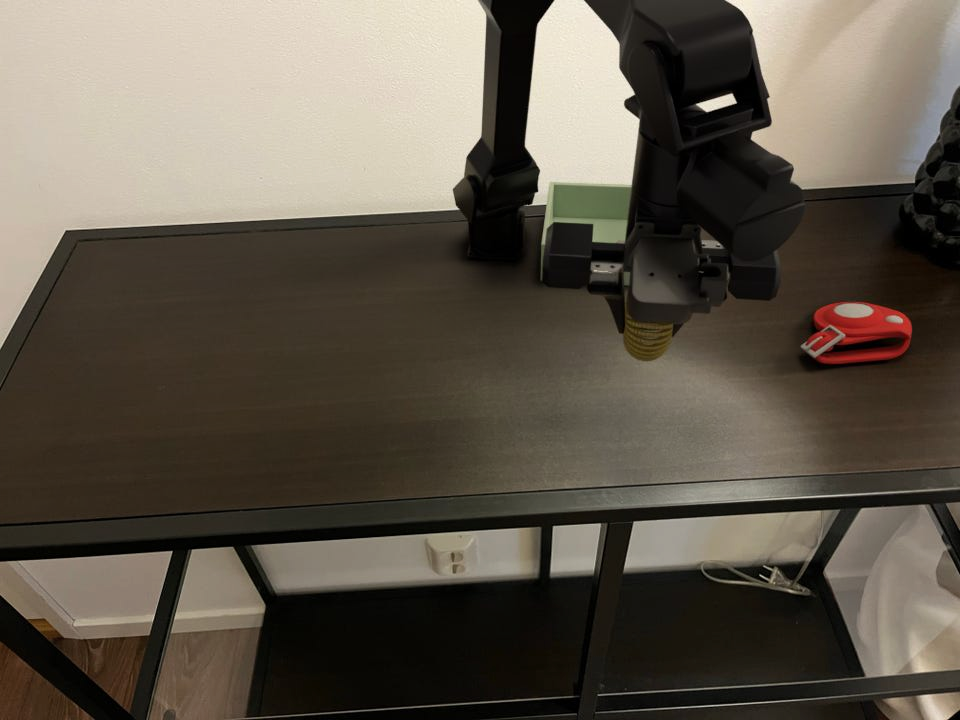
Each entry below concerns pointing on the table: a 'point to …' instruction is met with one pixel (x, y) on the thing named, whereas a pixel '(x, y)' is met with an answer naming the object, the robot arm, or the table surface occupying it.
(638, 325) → the sculpture
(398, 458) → the table surface
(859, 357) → the tracker holder
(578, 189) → the bin
